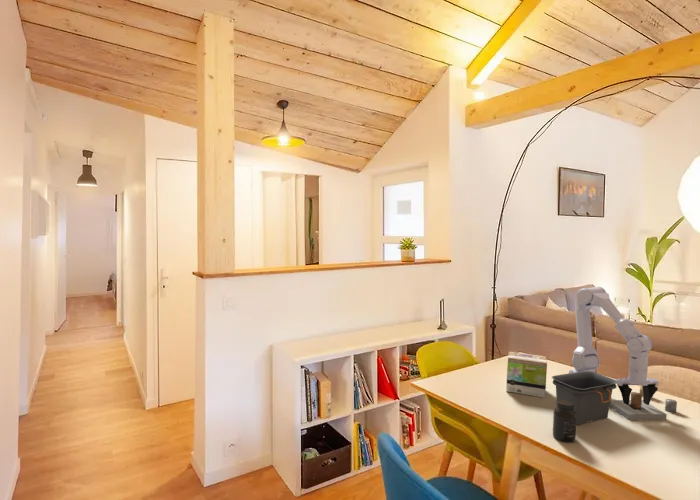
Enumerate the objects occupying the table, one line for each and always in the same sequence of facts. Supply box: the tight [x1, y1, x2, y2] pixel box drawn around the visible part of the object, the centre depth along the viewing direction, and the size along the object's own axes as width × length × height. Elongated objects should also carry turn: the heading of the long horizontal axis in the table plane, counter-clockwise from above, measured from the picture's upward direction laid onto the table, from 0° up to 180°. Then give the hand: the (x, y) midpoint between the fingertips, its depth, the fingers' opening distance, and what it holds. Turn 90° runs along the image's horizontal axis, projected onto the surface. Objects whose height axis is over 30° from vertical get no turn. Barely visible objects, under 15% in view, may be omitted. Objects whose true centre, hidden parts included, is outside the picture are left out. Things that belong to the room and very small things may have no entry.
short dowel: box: [664, 398, 678, 414], centre depth 161 cm, size 3×3×4 cm
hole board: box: [609, 399, 668, 421], centre depth 160 cm, size 14×12×2 cm
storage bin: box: [551, 371, 618, 426], centre depth 154 cm, size 21×16×14 cm
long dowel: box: [630, 391, 643, 410], centre depth 159 cm, size 3×3×7 cm
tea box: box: [506, 351, 548, 398], centre depth 179 cm, size 15×10×15 cm, turn 68°
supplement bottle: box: [552, 400, 577, 443], centre depth 140 cm, size 7×7×12 cm
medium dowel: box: [639, 385, 643, 398], centre depth 175 cm, size 3×3×6 cm
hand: (636, 403), depth 159 cm, fingers open, 7 cm apart
